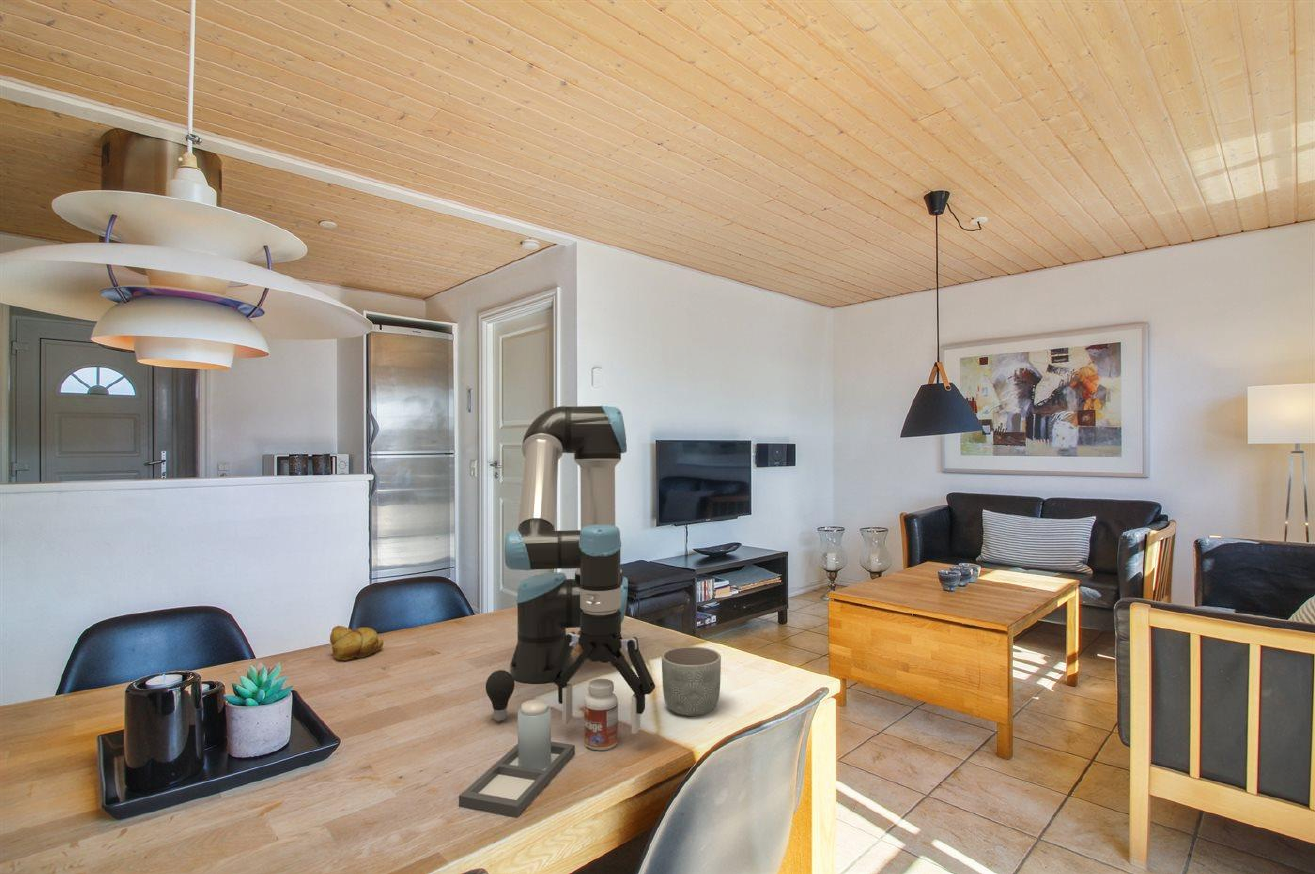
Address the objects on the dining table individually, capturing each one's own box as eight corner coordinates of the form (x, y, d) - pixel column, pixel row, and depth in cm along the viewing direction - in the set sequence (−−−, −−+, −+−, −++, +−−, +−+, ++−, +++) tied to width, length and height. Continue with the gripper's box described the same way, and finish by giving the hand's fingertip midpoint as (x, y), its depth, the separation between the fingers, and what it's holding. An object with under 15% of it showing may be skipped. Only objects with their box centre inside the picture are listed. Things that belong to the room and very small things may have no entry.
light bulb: (520, 717, 127) (519, 667, 127) (504, 729, 122) (504, 677, 122) (496, 713, 129) (496, 664, 129) (479, 725, 124) (479, 674, 124)
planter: (680, 725, 123) (679, 669, 123) (651, 703, 134) (651, 651, 134) (733, 713, 129) (732, 659, 129) (701, 692, 140) (701, 642, 140)
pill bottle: (577, 744, 115) (576, 683, 116) (601, 732, 120) (600, 674, 120) (601, 755, 111) (600, 692, 112) (624, 742, 116) (624, 682, 116)
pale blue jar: (511, 768, 106) (511, 709, 106) (528, 753, 112) (527, 696, 112) (541, 773, 105) (541, 713, 105) (556, 757, 110) (556, 700, 110)
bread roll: (380, 646, 174) (380, 617, 174) (388, 655, 166) (388, 625, 166) (328, 655, 166) (328, 625, 167) (334, 665, 159) (334, 633, 159)
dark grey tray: (458, 806, 96) (458, 795, 96) (524, 746, 115) (524, 737, 115) (517, 817, 93) (517, 806, 93) (574, 753, 112) (574, 744, 112)
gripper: (530, 610, 116) (530, 725, 116) (658, 620, 109) (659, 743, 108) (549, 600, 123) (549, 709, 123) (671, 609, 116) (671, 725, 116)
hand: (601, 725), depth 116 cm, fingers open, 13 cm apart
